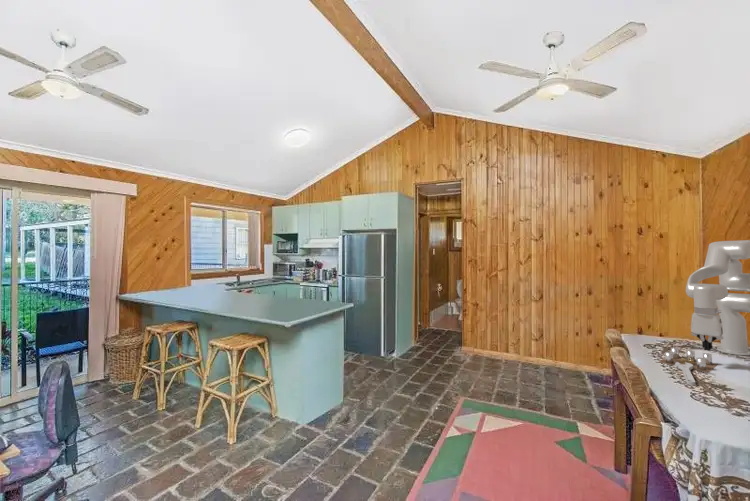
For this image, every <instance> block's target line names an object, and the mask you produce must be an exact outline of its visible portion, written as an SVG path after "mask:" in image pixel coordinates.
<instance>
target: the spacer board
mask: <svg viewBox="0 0 750 501" xmlns="http://www.w3.org/2000/svg"><path fill="white" fill-rule="evenodd" d="M681 358H683V357H681V356H679V359H674V358H673V361H674V363H673V364H670V363H666V362H665V358H662V359H661V360H659V361H658V363H661V364H665V365H670V366H674V367H675V363H676V362H679V363H680V364H681V365H685V364H684V363H681ZM717 366H719V363H713V362H712V365H706V370H699V369H697V360H696V359H695V362H694V364H693V369H692V370H694V371H699V372H705V373H710V372H711V371H712V370H714V369H715V368H716V367H717Z"/></svg>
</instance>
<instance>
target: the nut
mask: <svg viewBox="0 0 750 501" xmlns="http://www.w3.org/2000/svg"><path fill="white" fill-rule="evenodd" d="M685 362H687V363H690V364H692V365H693V364H694V360H693V359H690V358H687V357H682V358H681V363H684V364H685Z"/></svg>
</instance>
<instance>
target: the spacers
mask: <svg viewBox="0 0 750 501" xmlns="http://www.w3.org/2000/svg"><path fill="white" fill-rule="evenodd" d="M685 352H686V358H690V359H693V360H694V362H695V360H697V369H699V370H706V365H712V363H713V356H712V353H708V352H703V353H702V357H696V356H695V355H696V353H695V351H694V350H691V349H686V351H685ZM664 357H665V362H666V363H670V364H673V363H674V361H673V358H674V359H679V357H680V353H679V348H678V347H670V351H664ZM670 364H669V365H670ZM699 370H698V371H699Z"/></svg>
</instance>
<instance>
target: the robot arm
mask: <svg viewBox="0 0 750 501" xmlns="http://www.w3.org/2000/svg"><path fill="white" fill-rule="evenodd" d="M748 259H749V260H750V239H747V240H745V239H744V240H742V239H741V240H722V241H721V240H720V241H714V242H711V243H709V245H708V247H707V252H706V256H705V261H704V265H703V266H702V267H700V268H698V269H697V270H695V271H693V272H692V273H691V274H689V277H688V278H687V282H686V285H685V294H686V295H687V297H689V298H692V299H693V310H694V311H693V313H691V322H690V331H691V333H690V335H691V336H693V337H696V338H698V339H700V340H699V341H701V345H702V348H703V350H704V351H707V352H708V351H709V352H710V351H711V350H712V349H713V342H714V341H718V340H720V345H719V346H717V347H716V349H717V350H718V351H719V352H722V353H725V354H729V355H737V356H750V349H749V347H748V332H747V330H748V329H747V320H746V317H744V316H743V315H742V314H741V313H750V273H745V272H743V263H742V262H741V261H740V260H748ZM713 277H718V283H719V284H717V283H699V282H701V281H703V280H706V279H709V278H713ZM729 291H733V293H732V292H729ZM735 292H737V293H735ZM738 292H748V293H738ZM706 336H707V337H708V339H707V337H706Z"/></svg>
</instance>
